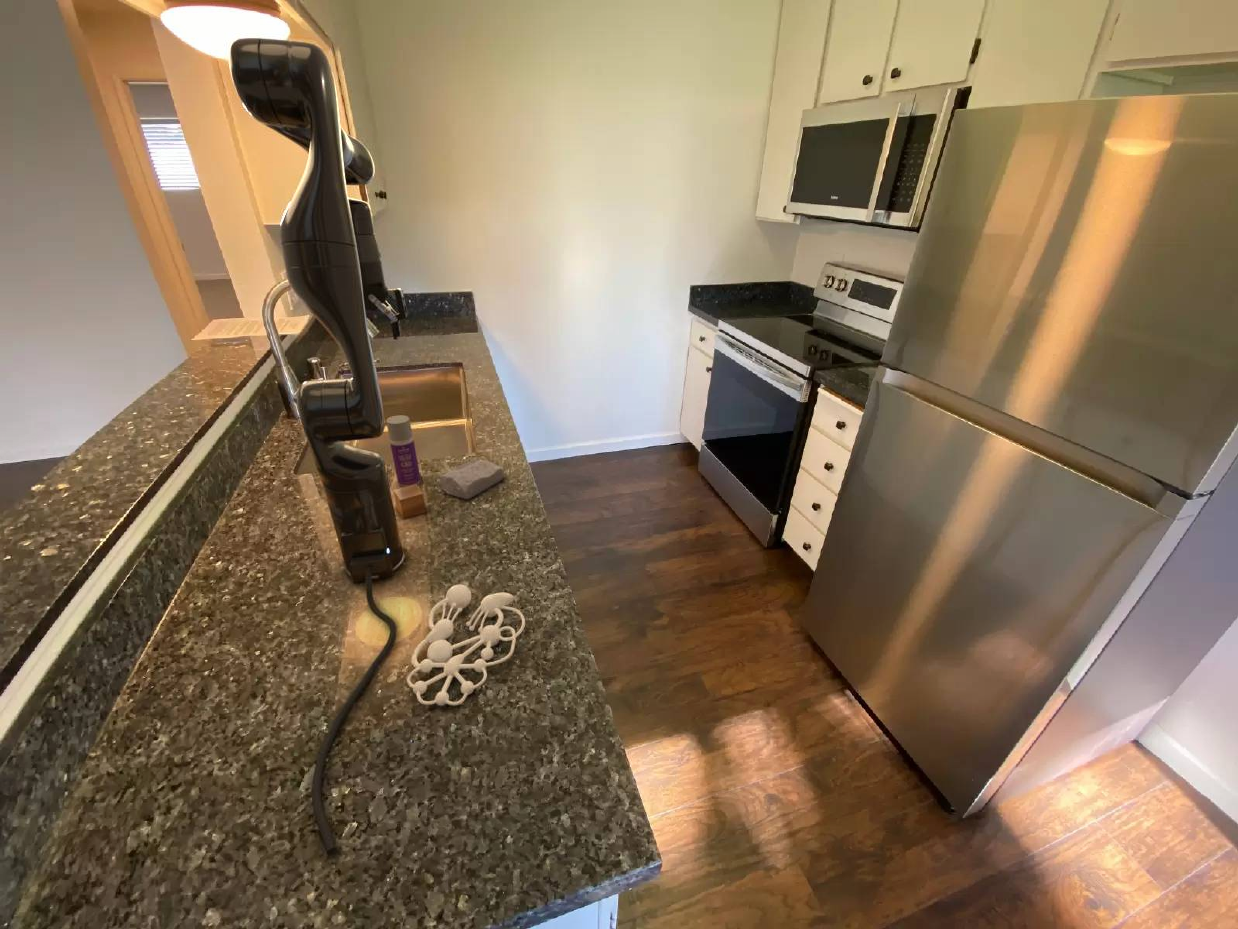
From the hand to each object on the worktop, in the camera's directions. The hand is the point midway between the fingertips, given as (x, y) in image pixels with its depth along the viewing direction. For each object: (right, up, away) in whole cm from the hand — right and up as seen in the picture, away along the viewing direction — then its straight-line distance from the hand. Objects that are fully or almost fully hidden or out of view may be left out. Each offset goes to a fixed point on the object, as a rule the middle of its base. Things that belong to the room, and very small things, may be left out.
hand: (375, 339), depth 112 cm
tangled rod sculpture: (+31, -53, -36) cm, 72 cm away
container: (+6, -31, +3) cm, 32 cm away
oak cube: (+10, -36, -6) cm, 38 cm away
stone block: (+19, -31, +4) cm, 37 cm away
